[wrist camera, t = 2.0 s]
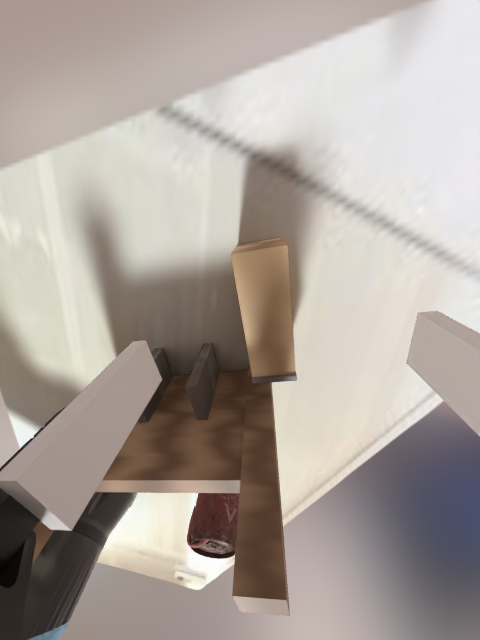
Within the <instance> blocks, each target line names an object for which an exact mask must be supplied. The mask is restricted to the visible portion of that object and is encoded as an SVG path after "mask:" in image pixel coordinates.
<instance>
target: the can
mask: <svg viewBox="0 0 480 640" xmlns="http://www.w3.org/2000/svg"><path fill="white" fill-rule="evenodd" d="M238 508H239V493H198V498H197V502H196V507H194V510H193V513H192V516H191V520H190V524H189V529H188V535H187V543H188V545H189V546H190V547H191V549H192V550H193V551H194V552H196V553H198V554H200V555H203V556H206V557H210V558H219V559H220V558H229V557H232V556H234V555H235V551H236V537H237V522H238Z"/></svg>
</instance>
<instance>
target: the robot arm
mask: <svg viewBox="0 0 480 640" xmlns="http://www.w3.org/2000/svg"><path fill="white" fill-rule="evenodd" d="M407 364H408V365H409V366H410V367H411V368H412V369H413V370H414V371H415V372H416V373H417V374H418V375H419V376H420V377H421V378H422V379H423V380H424V381H425V382H426V383H427V384H428V385H429V386H430V387H431V388H432V389H433V390H434V391H435V392H436V393H437V394H438V395H439V396H440V397H441V398H442V399H443V400H444V401H445V402H446V403H447V404H448V405H449V406H450V407H451V408H452V409H453V410H454V411H455V412H456V413H457V414H458V415H459V416H460V417H461V418H462V419H463V420H464V421H465V422H466V423H467V424H468V425H469V426H470V427H471V428H472V429H473V430H474V431H475V432H476V433H477V434H478V435H479V436H480V334H479V333H478V332H476V331H474V330H472V329H470V328H468V327H466V326H465V325H463V324H461V323H459V322H457V321H455V320H453V319H451V318H450V317H448V316H446V315H444V314H442V313H440V312H438V311H432V312H422V313H418V314H417V319H416V323H415V327H414V332H413V336H412V341H411V345H410V349H409V354H408V358H407ZM161 381H162V378H161V375H160V373H159V371H158V368H157V366H156V364H155V361H154V359H153V356H152V354H151V352H150V349H149V347H148V344H147V342H146V340H142V341H133V342H132V343H131V344H130V345H129V346H128V347H127V348H126V349H125V350H124V351H123V352H122V353H120V354H119V355H118V356H117V357H116V358H115V359H114V360H113V361H112V362H111V363H110V364H109V365H108V366H107V367H106V368H105V369H104V370H103V371H102V372H101V373H100V374H99V375H98V376H97V377H96V378H95V379H94V380H93V381H92V382H91V383H90V384H89V385H88V386H87V387H86V388H85V389H84V390H83V391H82V392H81V393H80V394H79V395H78V396H77V397H76V398H75V399H74V400H73V401H72V402H71V403H70V404H69V405H68V406H66V407H65V408H63V409H62V410H61V411H59V412H58V413H57V414H56V415H55V416H54V417H53V418H51V419H50V420H49V421H48V422H47V423H46V424H45V427H44V428H41V429H40V430H39V431H38V432H37V433H36V434H35V435H34V438H31V439H30V440H29V441H28V442H27V443H26V444H25V445H24V446H23V447H22V448H21V449H20V450H19V451H17V452H16V453H15V454H14V455H13V457H11V458H10V459H9V460H8V461H7V462H6V463H5V464H4V465H3V466H2V467H1V468H0V640H60V638H61V636H62V634H63V632H64V630H65V629H66V628H67V626H68V624H69V622H70V621H69V620H70V618H71V616H72V613H73V611H74V609H75V607H76V605H77V603H78V600H79V598H80V596H81V594H82V592H83V590H84V588H85V585H86V583H87V581H88V579H89V577H90V575H91V572H92V570H93V568H94V566H95V564H96V562H97V560H98V558H99V555H100V553H101V551H102V549H103V547H104V545H105V543H106V540H107V538H108V536H109V535H110V533H111V532H112V530H113V529H114V528H115V526H116V525H117V524H118V522H119V521H120V520H121V518H122V517H123V515H124V514H125V513H126V511H127V510H128V508H129V507H130V506H131V505H132V503H133V502H134V500H135V497H136V495H137V493H138V492H95V491H96V489H97V488H98V486H99V484H100V483H101V481H102V479H103V478H104V476H105V474H106V473H107V471H108V469H109V468H110V466H111V464H112V463H113V461H114V459H115V458H116V456H117V454H118V453H119V451H120V449H121V448H122V446H123V444H124V443H125V441H126V439H127V438H128V436H129V434H130V433H131V431H132V429H133V428H134V426H135V424H136V423H137V421H138V419H139V418H140V416H141V414H142V413H143V411H144V409H145V408H146V406H147V404H148V403H149V401H150V399H151V398H152V396H153V394H154V393H155V391H156V389H157V388H158V386H159V384H160V382H161ZM39 521H41V522H42V523H43V524H45V525H46V526H47V527H48V528H49V529H51V530H54V532H53V533H52V535H51V536H50V538H49V539H48V541H47V543H46V544H45V546H44V547H43V549H42V550H41V552H40V553H39V555H38V556H37V558H36V559H35V561H34V562H33V556H34V550H35V545H36V533H35V532H34V531H32V530H33V529H34V528H35V526H36V525H37V523H38V522H39ZM32 562H33V564H32Z"/></svg>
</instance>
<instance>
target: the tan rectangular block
mask: <svg viewBox="0 0 480 640" xmlns="http://www.w3.org/2000/svg"><path fill="white" fill-rule="evenodd" d="M231 259H232V265H233V271H234V276H235V282H236V288H237V293H238V299H239V305H240V310H241V316H242V322H243V328H244V333H245V339H246V345H247V350H248V356H249V362H250V368H251V373H252V383H266V382H281V381H296V380H297V376H296V371H295V356H294V339H293V323H292V306H291V289H290V273H289V256H288V245H287V244H286V243H285V242H284V241H283V240H282V239H281V238H275V239H269V240H263V241H257V242H251V243H244V244H238V245H237V246H236V248H235V249H234V250H233V252H232V253H231Z"/></svg>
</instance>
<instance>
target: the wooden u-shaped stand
mask: <svg viewBox="0 0 480 640" xmlns="http://www.w3.org/2000/svg"><path fill="white" fill-rule="evenodd" d="M151 354H152V356H153V359H154V361H155V364H156V366H157V368H158V371H159V373H160V375H161V378H162V381H161V382H160V384H159V386H158V388H157V389H156V391H155V393H154V394H153V396H152V398H151V399H150V401H149V403H148V404H147V406H146V408H145V409H144V411H143V413H142V414H141V416H140V418H139V419H138V421H137V423H136V424H135V426H134V428H133V429H132V431H131V433H130V434H129V436H128V438H127V439H126V441H125V443H124V444H123V446H122V448H121V449H120V451H119V453H118V454H117V456H116V458H115V459H114V461H113V463H112V464H111V466H110V468H109V469H108V471H107V473H106V474H105V476H104V478H103V479H102V481H101V483H100V484H99V486H98V488H97V489H96V491H95V492H151V493H239V508H238V522H237V537H236V551H235V567H234V580H233V595H232V596H233V598H234V599H235V602H236V603H237V605H238V607H239V609H240V611H241V612H250V613H260V614H261V613H262V614H271V615H272V614H273V615H283V616H290V612H289V601H288V587H287V574H286V561H285V548H284V536H283V523H282V510H281V497H280V484H279V472H278V459H277V446H276V433H275V421H274V408H273V395H272V382H266V383H252V373H251V368H250V367H248V370H242V371H229V372H219V368H218V364H217V360H216V356H215V352H214V348H213V344H212V343H211V344H204V345H203V347H202V349H201V352H200V354H199V356H198V359H197V361H196V363H195V366H194V368H193V370H192V372H191V374H190V375H176V376H173V373H172V371H171V368H170V365H169V363H168V360H167V357H166V355H165V352H164V350H163V348H159V349H155V350H154V351H153V352H152V353H151ZM32 531H34V532H35V533H36V545H35V550H34V556H33V562H34V561H35V559H36V558H37V556H38V555H39V553H40V552H41V550H42V549H43V547H44V546H45V544H46V543H47V541H48V539H49V538H50V536H51V535H52V533H53V532H54V530H51V529H49V528H48V527H47V526H46V525H45V524H43V523H42V522H41V521H39V522H38V523H37V525H36V526H35V528H34V529H33V530H32ZM33 562H32V564H33Z"/></svg>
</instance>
